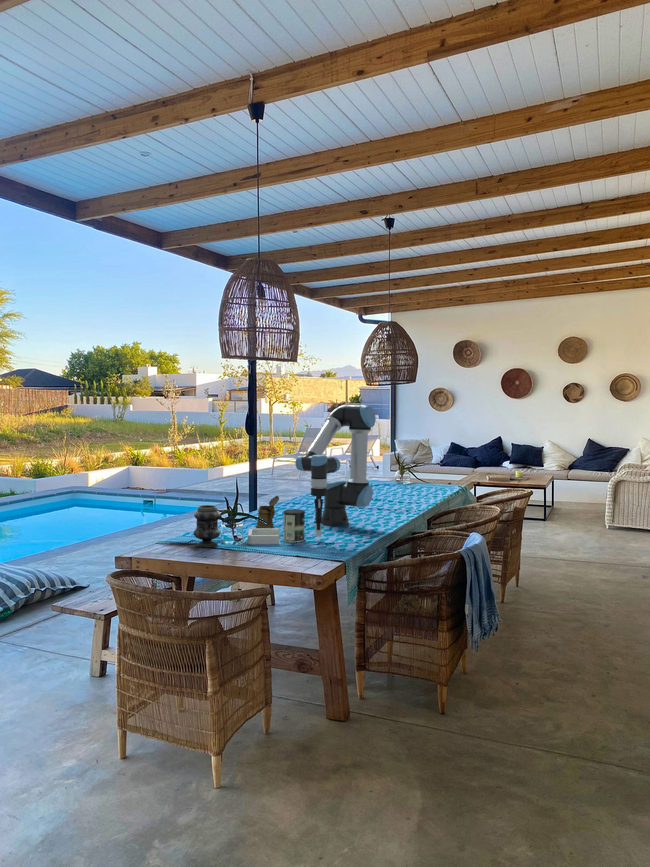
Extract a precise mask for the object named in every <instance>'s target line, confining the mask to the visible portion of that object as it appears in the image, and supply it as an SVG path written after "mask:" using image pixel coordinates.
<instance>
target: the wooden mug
mask: <svg viewBox="0 0 650 867" xmlns="http://www.w3.org/2000/svg"><path fill="white" fill-rule="evenodd" d="M279 500H280V497H279V496H278V495H276V496H274V497H273V498H271V499H270V500H269V502H268V504H269V505H259V508H258V511H257V512H258V514H257V515H258V516H257V520H256V525H255V526H256V527H255V529H259V528H274V522H273V521H274V520H273V519H274V517H275V514H276V511H275V507H274V506H276V505H277V504H278V502H279ZM258 518H261V519H263V520H264V521H266V523H267V524H265V523H264V522H262V521H260V520H258Z"/></svg>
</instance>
